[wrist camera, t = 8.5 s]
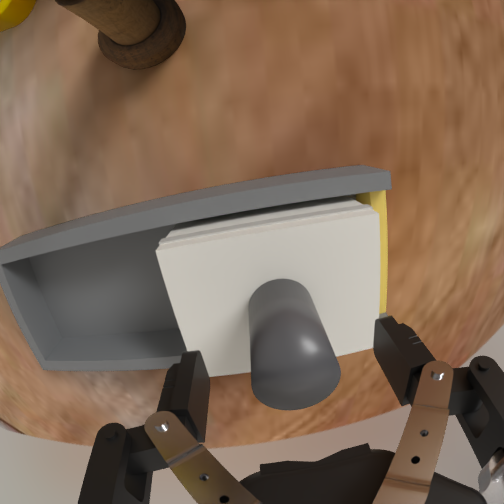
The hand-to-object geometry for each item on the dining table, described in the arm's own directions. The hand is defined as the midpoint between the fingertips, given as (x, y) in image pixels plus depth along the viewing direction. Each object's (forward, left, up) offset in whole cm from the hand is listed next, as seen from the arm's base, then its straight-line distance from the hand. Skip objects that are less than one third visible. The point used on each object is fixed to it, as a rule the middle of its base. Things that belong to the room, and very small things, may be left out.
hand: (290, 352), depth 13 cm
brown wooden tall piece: (-20, -6, -13) cm, 24 cm away
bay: (0, -7, -12) cm, 14 cm away
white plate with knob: (0, 0, -11) cm, 11 cm away
